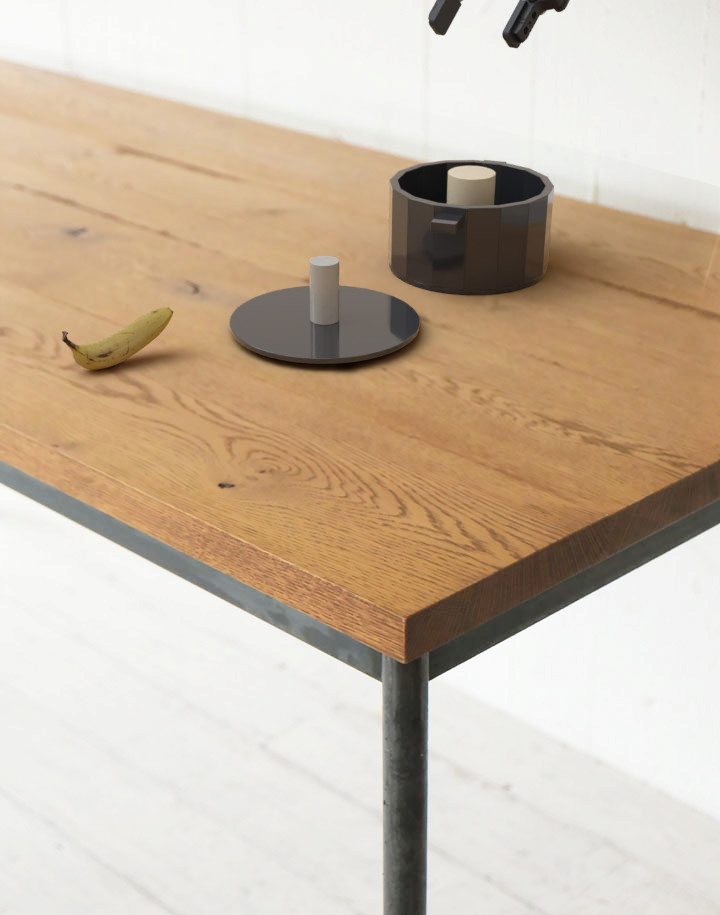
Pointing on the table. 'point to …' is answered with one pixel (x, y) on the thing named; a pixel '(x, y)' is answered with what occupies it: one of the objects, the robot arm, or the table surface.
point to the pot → (469, 230)
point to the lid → (324, 320)
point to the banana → (121, 341)
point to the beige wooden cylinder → (471, 186)
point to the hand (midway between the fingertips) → (471, 36)
